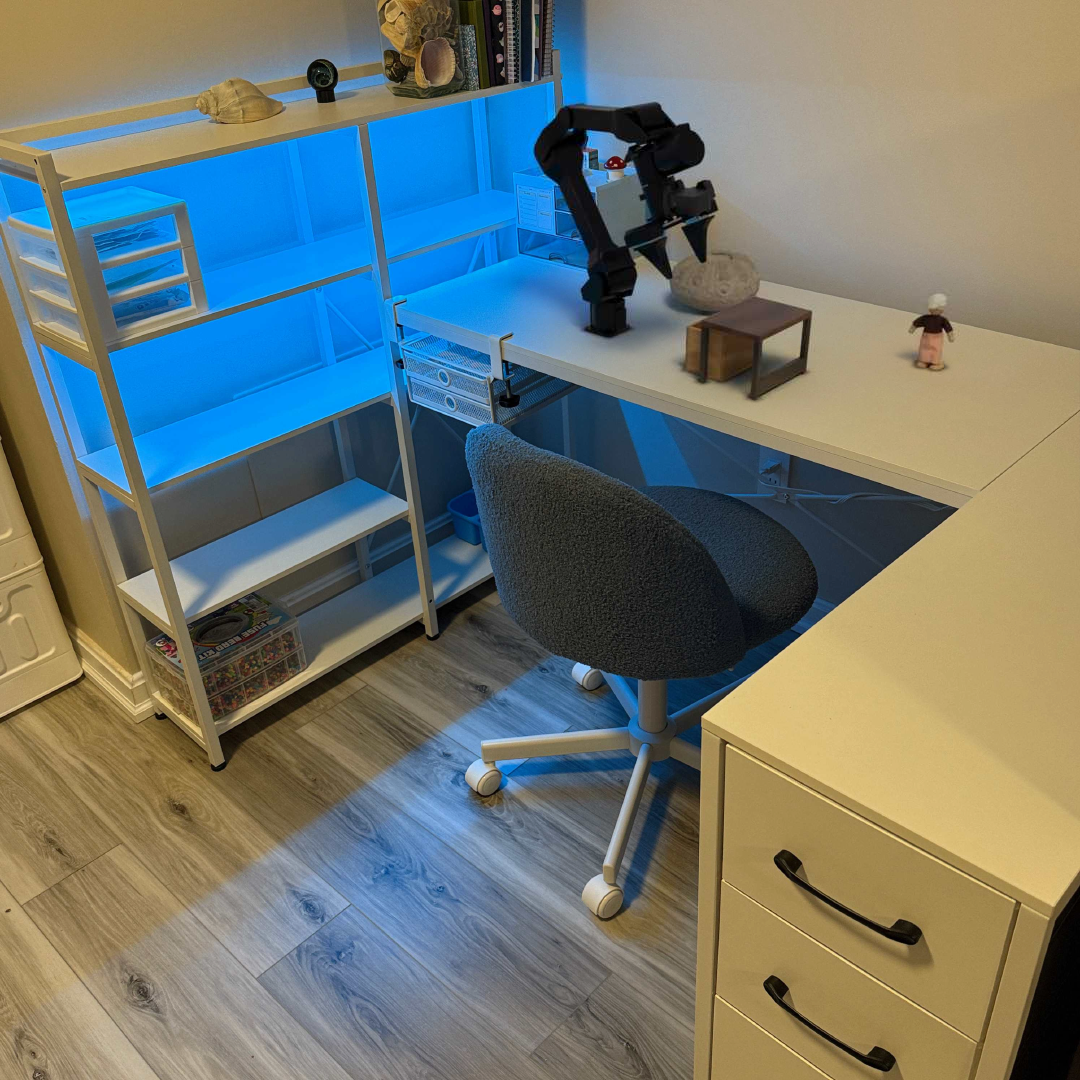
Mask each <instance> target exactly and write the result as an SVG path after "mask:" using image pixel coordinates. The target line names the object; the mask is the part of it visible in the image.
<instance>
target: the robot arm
mask: <svg viewBox="0 0 1080 1080" xmlns="http://www.w3.org/2000/svg"><path fill="white" fill-rule="evenodd" d="M587 131H590V132H599V133H608V134H612V135H614V137H615V139H617V140H619V141H622V142H624V143H626V144H633V145H630V146H628V148H627V152H626V154H625V156H624V159H623V163H624V164H628V163H631V162H632V164H633V166H634V170H635V172H636V175H637V178H638V181H639V184H640V187H641V190H642V193H641V194H639V195H638V198H639V201H640V202H643V201H645V202H646V205H647V208H648V211H649V215H650V217H649V218H646V222H645V223H642V224H639V225H637V226H634V227H631V228H630V229H627V230H625V231H624V234H623V241H624V243H625V245H622V246H619V245H618V244H616V243H615V242H614V241H613V239H612V236H611V234H610V232H609V229H608V227H607V225H606V222H605V220H604V219H603V216H602V214H601V211H600V209H599V207H598V205H597V202H596V200H595V198H594V195H593V193H592V191H591V189H590V186H589V184H588V182H587V180H586V178H585V175H584V172H583V168H584V161H585V154H584V151H583V147H584V145H585V143H586V142H587V140H588V133H587ZM705 154H706V146H705V141H703V140H702V138H701V136H700V135H699V134H698V133H697V132H696V131H694V130H692V128H691V125H690V122H684V123H679V124H676V123H675V122H674V121H673V120H672V119H671V118H670V117H669V115H668V114H667V113H666V112H665V111H664V110H663V107H662V105H661V104H660V103H659V102H657V101H651V102H645V103H639V104H634V105H629V106H628V105H627V106H624V107H621V106H620V107H619V106H606V105H594V104H587V103H584V102H579V103H573V104H567V105H564V106H563V107H561V108H560V109H559V110H558V112H557V114H556V116H555V117H554V118H553V119H552V120H551V121H550V122H549V123H548V124H547V125H546V126H545V127H544V128H543V129H542V130H541V131H540V133H539V135H538V137H537V139H536V141H535V143H534V145H533V156H534V158H535V160H536V162H537V164H538V166H539V167H540V169H541V171H542V172H543V174H544V175H545V176H546V177H547V178H549V179H550V180H552V181H553V182H554V183H555V184H556V185H557V186H558V187H559V189H560V190H559V191H560V193H561V195H562V197H563V199H564V201H565V203H566V206H567V208H568V210H569V213H570V215H571V217H572V220H573V222H574V224H575V226H576V228H577V231H578V233H579V236H580V237H581V240H582V242H583V244H584V247H585V249H586V251H587V254H588V259H587V267H586V273H587V275H588V279H587V280H586V281H585V283H584V284H583V285H582V286H581V287H580V295H581V299H582V301H584V302H586V303H589V324H587V325H585V326H584V330H585V331H588V332H591V333H594V334H596V335H601V336H604V337H607V338H611V337H613V336H615V335H618V334H620V333H623V332H625V331H627V330H629V329H631V325H630V324H628V323H627V307H626V298H628V297H632V296H633V295H634V290H635V287H636V283H637V280H638V271H637V268H636V266H637V263H636V262H635V261H634V259H633V257H632V254H631V251H630V248H632V251H633V252H637V253H639V254H640V255H642V257H644V258H645V259H646V260H647V261H648V262H649V263H650V264H651V265H652V266H653V267H654V268H655V269H656V270H657V271H658V272H659V273H660V274H661V275H662V276H663V277H664V278H665V280H667V281H669V279H672V278H673V275H672V271H673V269H672V266H671V263H670V259H669V256H668V253H667V250H666V245H667V240H668V235H666V236H664V233H665V231H666V230H669V229H670V228H671V229H672V228H673V227H676V226H677V225H680V224H684V225H683V226H680V229H681V231H682V232H683V234H684V236H685V238H686V240H687V242H688V243H689V245H690V247H691V249H692V251H693V254H695V255H696V256H697V258H698V260H699V261H700V263H705V262H706V261H707V251H708V248H707V247H708V242H707V241H708V229H709V225H710V224H711V222H712V220H713V219H715V218H716V217H715V216H716V214H713V213H716V212H718V211H719V207H718V204H717V201H716V199H715V198H716V195H717V194H716V193H715V188H714V185H713V183H712V181H711V179H702V180H699V181H698V182H696V185H695V186H691V187H686V186H685V182H684V181H683V180H682V179H681V178H679V179H676V177H675V175H677V174H680V173H682V172H684V171H687V170H689V169H692V168H694V167H696V166H699V165H700V164H701V163H702V162H703V161H704V158H705ZM663 236H664V237H663Z"/></svg>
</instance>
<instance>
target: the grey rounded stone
mask: <svg viewBox="0 0 1080 1080" xmlns="http://www.w3.org/2000/svg"><path fill="white" fill-rule="evenodd" d="M672 267H673V268H672V275H673V278H672V279H669V280H668V281H669V288H670V291H671V294H672V295H673V297H674V298H675V299H676V301H679V302H680V303H682V304H684V305H686V306H689V307H691V308H693V309H695V310H701V311H703V312H704V311H705V312H709V313H710V312H716V313H718V312H720V311H724V310H726V309H728V308H730V307H732V306H735V305H737V304H739V303H741V302H744V301H746V300H748V299H750V298H753V297H755V296H756V297H757V294H758V292H759V290H760V285H761V274H760V273H759V270H758V268H757V266H756V264H755V262H754V261H752V260H751V259H750V258H749V257H748V254H742V253H739V252H734V251H731V250H729V249H727V250H723V249H711V250H707V261H706V262H705V263H700V261H699V260H698V258H697V256H696V255H695V253H693V254H692V255H689V256H686V257H684V258H683V259H681V261H679V262H678V263H676V264H675V265H673V266H672Z"/></svg>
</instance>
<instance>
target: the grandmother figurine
mask: <svg viewBox="0 0 1080 1080" xmlns="http://www.w3.org/2000/svg"><path fill="white" fill-rule="evenodd" d="M947 304H948V298H947V296H946V295H945V294H942V293H935V294H933V295H931V296H930V297H929V299H928V300H926V303H925V305H924V307H926V309H927V310H928V312H929V313H927V314H923V315H920V316H919V317H917V318H916V319H914V320H912V324H911V325H910V327H909V328H908V330H907V331H908V333H909V334H914V333H915V332H916V330H917V329H920V328H923V330H922V331H921V335H920V340H919V345H918V355H917V362H916V368H921V369H922V368H923V369H925V368H927V367H928V366H929V369H930V370H932V371H939V370H942V369H944V368H945V365H944V362H942V357H943V346H944V332H945V334H946V336H947V340H948V342H949V343H954V342H955V340H956V339H955V336H954V328H953V326H952V324H951V322H950V321H949V319H948V318H947V317H945V316H943V315H942V314H943V313H944V312H945V310H946V307H947ZM930 363H931V364H930Z"/></svg>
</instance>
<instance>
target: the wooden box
mask: <svg viewBox="0 0 1080 1080" xmlns="http://www.w3.org/2000/svg"><path fill="white" fill-rule="evenodd" d="M719 312H721V311H717V312H716V313H714V314H710V315H709V316H707V317H704V318H702V319H700V320H697V321H696V322H693V323H691V324H689V325H687V326H686V327H685V328H686V329H685V330H686V331H685V332H686V333H685V358H684V370H685V371H686V372H689V373H693V374H697V375H699V371H700V349H701V327H702V320H703V319H706V318H708V317H710V316H712V315H715V314H717V313H719ZM753 353H754V341H753V340H750V339H746V338H742V337H739V336H735V335H732V334H728V333H725V332H721V331H718V330H714V329H711V328H710V329H709V349H708V369H707V379H708V378H709V379H711V380H714V381H715V380H716V381H718V382H721V383H723V382H724V381H727V380H728V379H730V378H733V377H734V376H737V375H739V374H740V373H741V372H744V371H746V370H748V369H750V368H752V366H753Z"/></svg>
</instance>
